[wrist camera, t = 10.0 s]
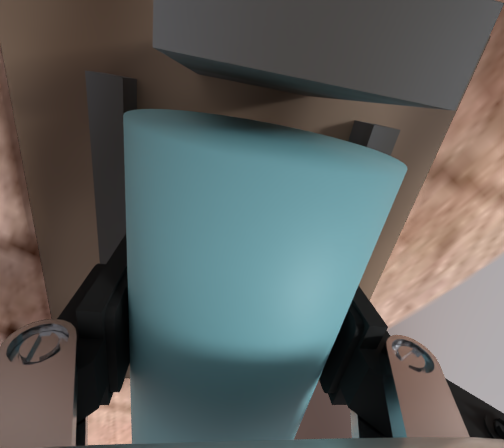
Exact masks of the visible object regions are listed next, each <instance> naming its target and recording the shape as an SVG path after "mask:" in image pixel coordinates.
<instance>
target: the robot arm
mask: <svg viewBox="0 0 504 448" xmlns="http://www.w3.org/2000/svg"><path fill="white" fill-rule="evenodd" d="M387 328H388V326H387V325H386V324H385V322H384V321H383V319H382V318H381V316H380V315H379V314H378V312H377V311H376V309H375V308H374V306H373V305H372V304H371V302H370V301H369V299H368V298H367V296H366V295H365V294H364V292H363V291H362V289H361V288H360V286H359V285H358V288H357V290H356V293H355V295H354V297H353V300H352V302H351V304H350V307H349V309H348V311H347V314H346V316H345V319H344V321H343V323H342V326H341V328H340V330H339V333H338V335H337V338H336V340H335V342H334V345H333V347H332V349H331V352H330V354H329V357H328V359H327V361H326V364H325V366H324V368H323V371H322V373H321V375H320V378H319V380H320V383H321V386H322V389H323V390H324V392H325V393H328V395H329V397H330V400H331V403H332V405H348V408H350V409H351V430H352V438H349V439H302V440H259V441H218V442H183V443H149V444H115V445H87V433H88V415H90V414H91V413H93V412H94V411H95V410H97V409H98V408H99V406H100V405H109V403H110V400H111V397H112V395H113V392H120V390H121V388H122V385H123V382H124V379H125V376H126V373H127V370H128V367H129V364H130V349H129V312H128V275H127V238H126V234H125V236H124V237H123V239H122V240H121V242H120V243H119V245H118V246H117V248H116V250H115V251H114V253H113V254H112V256H111V257H110V259H109V260H108V262H107V263H106V264H99V263H98V264H96V265H95V266H94V267H93V269H92V270H91V272H90V273H89V274H88V276H87V277H86V279H85V280H84V281H83V283H82V284H81V286H80V287H79V288H78V290H77V291H76V293H75V294H74V296H73V297H72V298H71V300H70V301H69V303H68V304H67V305H66V307H65V308H64V310H63V311H62V313H61V314H60V315H59V317H58V318H57V319H47V320H41V321H37V322H34V323H31V324H28V325H26V326H24V327H22V328H20V329H18V330H17V331H15V332H14V333H12V334H11V335H10V336H9V337H8V338H7V339H6V340H5V341H4V342H3V343H2V344H1V346H0V448H504V413H502V412H500V411H498V410H497V409H495V408H494V407H492V406H490V405H489V404H487V403H485V402H484V401H482V400H480V399H478V398H477V397H475V396H474V395H472V394H470V393H469V392H467V391H465V390H463V389H462V388H460V387H459V386H457V385H455V384H454V383H452V382H450V381H449V380H447V379H445V377H444V374H443V372H442V369H441V367H440V365H439V363H438V361H437V359H436V357H435V356H434V355H433V354H432V353H431V352H430V351H429V350H428V349H427V348H426V347H425V346H423V345H422V344H420V343H419V342H417V341H415V340H414V339H411V338H409V337H406V336H402V335H393V336H390V335H389V333H388V332H387Z"/></svg>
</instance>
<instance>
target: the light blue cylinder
mask: <svg viewBox="0 0 504 448" xmlns="http://www.w3.org/2000/svg"><path fill="white" fill-rule="evenodd" d="M123 128H124V165H125V201H126V238H127V275H128V312H129V349H130V386H131V423H132V444H149V443H183V442H218V441H259V440H293V439H294V437H295V435H296V432H297V430H298V428H299V425H300V423H301V420H302V418H303V416H304V413H305V411H306V409H307V406H308V404H309V402H310V399H311V397H312V394H313V392H314V390H315V387H316V385H317V383H318V380H319V378H320V375H321V373H322V371H323V368H324V366H325V364H326V361H327V359H328V357H329V354H330V352H331V349H332V347H333V345H334V342H335V340H336V338H337V335H338V333H339V330H340V328H341V326H342V323H343V321H344V319H345V316H346V314H347V311H348V309H349V307H350V304H351V302H352V300H353V297H354V295H355V293H356V290H357V288H358V285H359V283H360V281H361V278H362V276H363V274H364V271H365V269H366V266H367V264H368V262H369V259H370V257H371V255H372V252H373V250H374V247H375V245H376V243H377V240H378V238H379V236H380V233H381V231H382V229H383V226H384V224H385V221H386V219H387V217H388V214H389V212H390V210H391V207H392V205H393V202H394V200H395V198H396V195H397V193H398V191H399V188H400V186H401V184H402V181H403V179H404V176H405V174H406V172H407V166H406V165H405V164H404V163H403V162H401V161H399V160H398V159H396V158H394V157H392V156H389V155H387V154H384V153H382V152H379V151H376V150H374V149H371V148H368V147H365V146H362V145H358V144H355V143H352V142H348V141H345V140H341V139H337V138H334V137H330V136H326V135H322V134H318V133H314V132H309V131H305V130H301V129H296V128H291V127H287V126H282V125H277V124H272V123H267V122H261V121H256V120H250V119H244V118H238V117H231V116H225V115H218V114H210V113H202V112H193V111H183V110H170V109H137V110H131V111H127V112H125V113H124V115H123Z"/></svg>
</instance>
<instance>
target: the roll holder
mask: <svg viewBox="0 0 504 448" xmlns="http://www.w3.org/2000/svg"><path fill="white" fill-rule="evenodd" d="M503 5H504V3H502V2H498V1H495V0H0V44H1V49H2V55H3V60H4V65H5V71H6V76H7V81H8V87H9V92H10V98H11V103H12V108H13V114H14V119H15V124H16V130H17V135H18V141H19V146H20V151H21V157H22V162H23V167H24V173H25V178H26V184H27V189H28V194H29V200H30V205H31V210H32V216H33V221H34V227H35V232H36V237H37V243H38V248H39V253H40V259H41V264H42V270H43V275H44V280H45V286H46V291H47V296H48V302H49V307H50V313H51V318H52V319H57V318H58V317H59V315H60V314H61V313H62V311H63V310H64V308H65V307H66V305H67V304H68V303H69V301H70V300H71V298H72V297H73V296H74V294H75V293H76V291H77V290H78V288H79V287H80V286H81V284H82V283H83V281H84V280H85V279H86V277H87V276H88V274H89V273H90V272H91V270H92V269H93V267H94V266H95V265H96V264H98V263H99V264H106V263H107V262H108V260H109V259H110V257H111V256H112V254H113V253H114V251H115V250H116V248H117V246H118V245H119V243H120V242H121V240H122V239H123V237H124V236H125V234H126V201H125V165H124V128H123V115H124V113H125V112H127V111H131V110H137V109H170V110H183V111H193V112H202V113H210V114H218V115H225V116H231V117H238V118H244V119H250V120H256V121H261V122H267V123H272V124H277V125H282V126H287V127H291V128H296V129H301V130H305V131H309V132H314V133H318V134H322V135H326V136H330V137H334V138H337V139H341V140H345V141H348V142H352V143H355V144H358V145H362V146H365V147H368V148H371V149H374V150H376V151H379V152H382V153H384V154H387V155H389V156H392V157H394V158H396V159H398V160H399V161H401V162H403V163H404V164H405V165H406V166H407V172H406V174H405V176H404V179H403V181H402V184H401V186H400V188H399V191H398V193H397V195H396V198H395V200H394V202H393V205H392V207H391V210H390V212H389V214H388V217H387V219H386V221H385V224H384V226H383V229H382V231H381V233H380V236H379V238H378V240H377V243H376V245H375V247H374V250H373V252H372V255H371V257H370V259H369V262H368V264H367V266H366V269H365V271H364V274H363V276H362V278H361V281H360V283H359V286H360V288H361V289H362V291H363V292H364V294H365V295H366V296H367V298H368V299H369V300H370V298H371V296H372V294H373V292H374V289H375V287H376V285H377V283H378V281H379V279H380V276H381V274H382V272H383V270H384V268H385V265H386V263H387V261H388V259H389V257H390V255H391V252H392V250H393V248H394V246H395V244H396V242H397V239H398V237H399V235H400V233H401V231H402V228H403V226H404V224H405V222H406V220H407V218H408V215H409V213H410V211H411V209H412V207H413V204H414V202H415V200H416V198H417V196H418V194H419V191H420V189H421V187H422V185H423V183H424V181H425V178H426V176H427V174H428V172H429V170H430V167H431V165H432V163H433V161H434V159H435V157H436V154H437V152H438V150H439V148H440V146H441V143H442V141H443V139H444V137H445V135H446V133H447V130H448V128H449V126H450V124H451V122H452V120H453V117H454V115H455V113H456V111H457V109H458V106H459V104H460V102H461V100H462V98H463V96H464V93H465V91H466V89H467V87H468V85H469V82H470V80H471V78H472V76H473V74H474V72H475V69H476V67H477V65H478V63H479V61H480V59H481V56H482V54H483V52H484V50H485V48H486V45H487V43H488V41H489V39H490V37H491V36H490V33H491V31H492V29H493V27H494V25H495V22H496V20H497V18H498V16H499V14H500V12H501V9H502V7H503ZM125 378H130V364H129V367H128V370H127V373H126V376H125ZM318 381H320V380H318Z"/></svg>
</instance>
